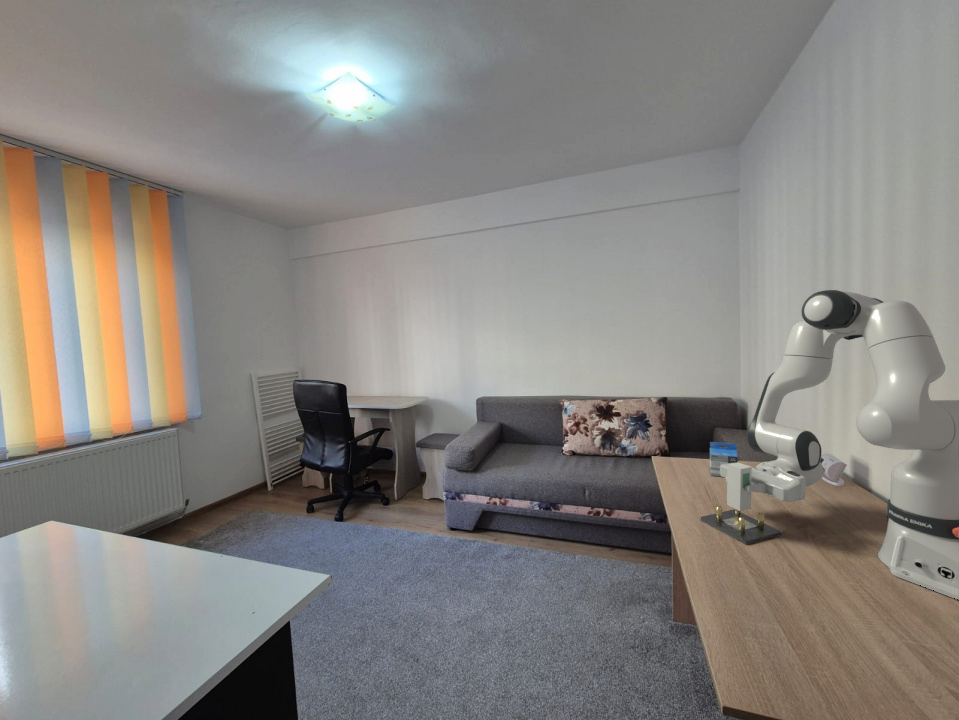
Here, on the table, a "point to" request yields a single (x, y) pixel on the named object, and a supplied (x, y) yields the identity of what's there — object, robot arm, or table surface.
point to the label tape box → (721, 456)
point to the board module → (738, 486)
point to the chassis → (741, 525)
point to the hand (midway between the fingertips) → (736, 484)
